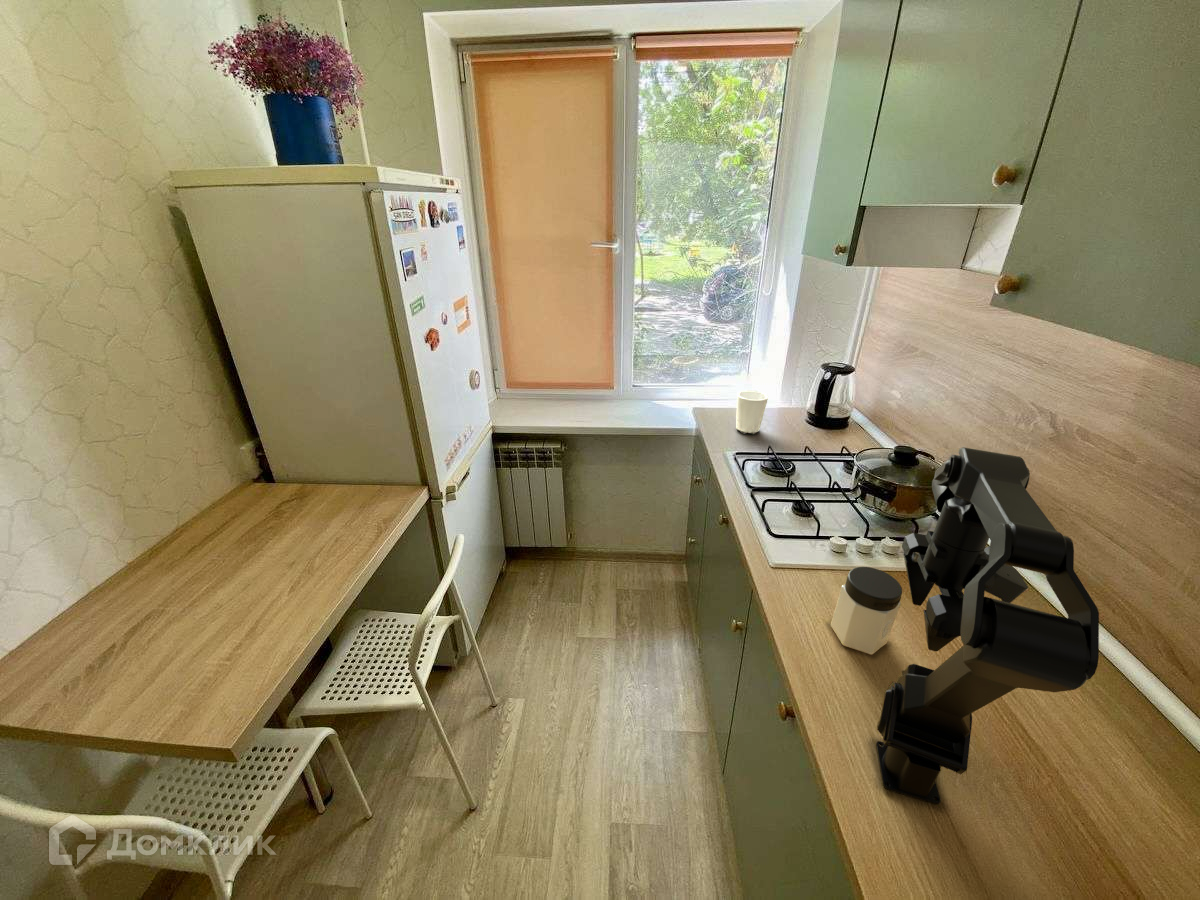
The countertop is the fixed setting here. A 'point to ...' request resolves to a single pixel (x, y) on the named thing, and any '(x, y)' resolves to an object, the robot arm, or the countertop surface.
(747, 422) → the cup
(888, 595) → the jar
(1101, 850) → the countertop surface
